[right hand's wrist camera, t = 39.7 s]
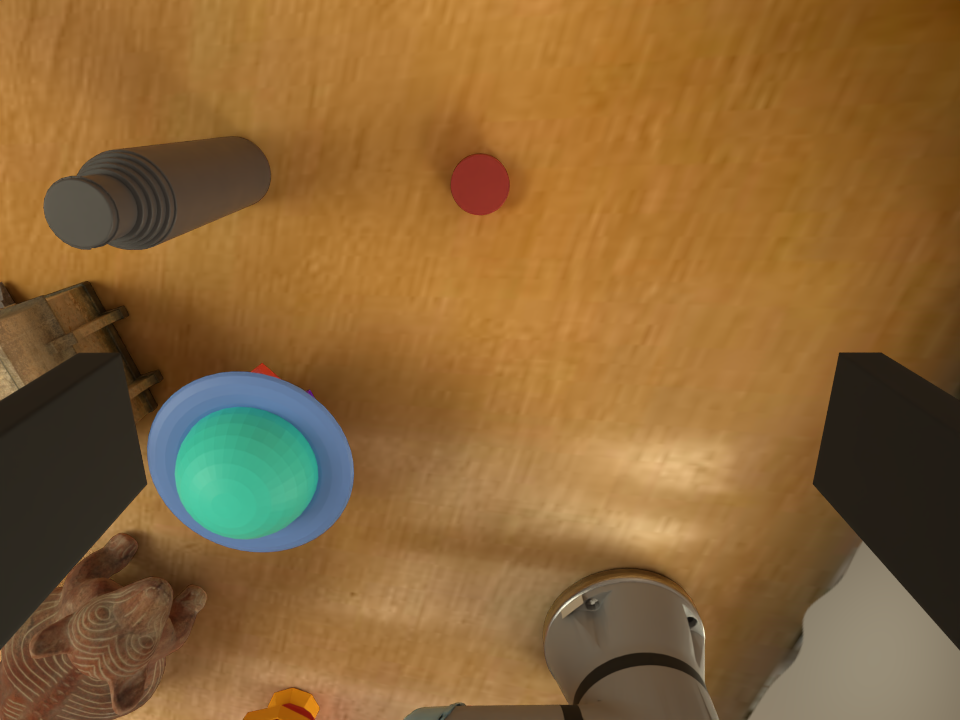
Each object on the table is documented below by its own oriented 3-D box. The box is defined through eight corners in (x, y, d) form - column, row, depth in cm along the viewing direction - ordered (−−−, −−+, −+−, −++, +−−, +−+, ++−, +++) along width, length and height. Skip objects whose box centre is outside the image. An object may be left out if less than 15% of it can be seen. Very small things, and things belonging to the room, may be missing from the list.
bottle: (199, 134, 49) (9, 153, 29) (268, 137, 49) (126, 158, 30) (206, 205, 51) (32, 267, 31) (273, 207, 51) (142, 271, 31)
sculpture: (271, 540, 62) (209, 668, 48) (135, 696, 68) (46, 849, 54) (138, 455, 58) (31, 564, 44) (10, 627, 65) (-119, 770, 51)
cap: (450, 211, 51) (450, 214, 50) (452, 152, 50) (451, 153, 48) (507, 213, 51) (508, 216, 50) (510, 154, 50) (510, 155, 48)
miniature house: (93, 248, 52) (-7, 285, 41) (177, 405, 57) (107, 473, 46) (-72, 307, 54) (-209, 356, 43) (23, 454, 58) (-79, 531, 48)
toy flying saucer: (160, 375, 56) (61, 458, 43) (316, 302, 54) (262, 365, 40) (255, 514, 61) (193, 627, 48) (402, 452, 58) (380, 552, 45)
